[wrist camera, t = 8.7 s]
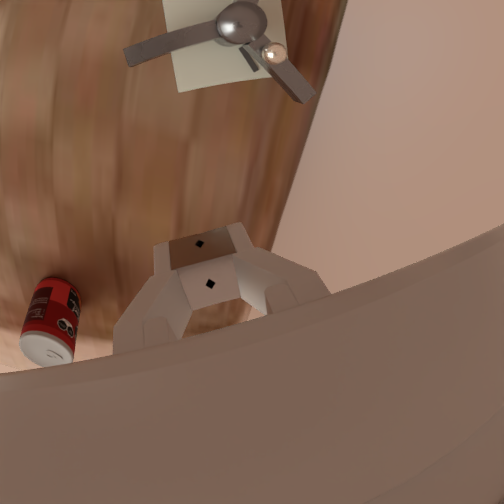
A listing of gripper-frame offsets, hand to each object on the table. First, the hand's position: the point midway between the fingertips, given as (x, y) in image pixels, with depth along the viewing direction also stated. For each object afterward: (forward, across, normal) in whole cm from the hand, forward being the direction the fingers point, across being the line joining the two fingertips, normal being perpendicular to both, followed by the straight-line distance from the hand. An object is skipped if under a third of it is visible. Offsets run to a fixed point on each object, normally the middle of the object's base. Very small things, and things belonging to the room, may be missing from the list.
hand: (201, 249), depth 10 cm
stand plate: (+25, -7, -9) cm, 27 cm away
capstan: (+23, -8, -7) cm, 25 cm away
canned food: (+25, +24, +19) cm, 40 cm away
